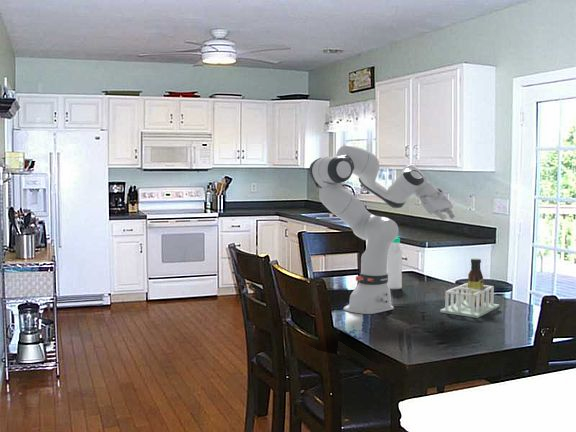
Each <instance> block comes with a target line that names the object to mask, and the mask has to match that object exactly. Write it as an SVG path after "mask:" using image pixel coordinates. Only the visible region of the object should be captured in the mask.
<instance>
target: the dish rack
mask: <svg viewBox="0 0 576 432" xmlns="http://www.w3.org/2000/svg"><path fill="white" fill-rule="evenodd" d="M494 289H495V286H494V285H487V284H483V290H480V289H472V288H468V282H465V283H463V284H461V285H458V286H455V287H452V288H449V289H448V290H445V294H444V295H445V297H444V299H445V300H444V308H441V309H440V310H439V313H444V314H448V315H449V314H450V315H457V316H463V317H468V318H476V319H479V318H480V317H482V316H484V315H486V314H488V313H491V312H492V311H494V310H496V309H498V308H500V304H497V303H494V300H495V299H494V297H495V294H494V293H495V292H494V291H495V290H494ZM468 290H469V293H468ZM472 291H477V292H476V293H474V294H472ZM480 294H481V306H479V305H480ZM475 296H476V306H475ZM449 297H450V300H449ZM449 302H450V305H449ZM454 302H455V303H454Z"/></svg>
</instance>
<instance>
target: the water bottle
mask: <svg viewBox="0 0 576 432" xmlns="http://www.w3.org/2000/svg"><path fill="white" fill-rule="evenodd" d="M400 243H401V238H400V237H398V236H397V237H396V239H395V240H394V241H393V242H392V244H391V246H390V249H389V253H388V259H387V274H388V283H387V285H388V287H389V288H390V290H400V289H402V287H403V286H402V285H403V284H402V283H403V281H402V279H403V274H402V271H403V256H402V255H403V250H402V248H401V246H400Z"/></svg>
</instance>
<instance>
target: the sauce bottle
mask: <svg viewBox="0 0 576 432" xmlns="http://www.w3.org/2000/svg"><path fill="white" fill-rule="evenodd" d="M470 263H471V264H470V265H471V266H470V267H471V268H470V271H469V273H468V274H467V275H468V276H467V279H468V280H467V283H468V288H472V289H480V290H483V289H484V287H483V285H484V275H483V273H482V270H481V263H482V260H481V258H470ZM476 292H477V291H472V294H474V293H476ZM468 293H469V290H468ZM475 306H476V296H475ZM479 306H481V294H480V305H479Z"/></svg>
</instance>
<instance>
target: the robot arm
mask: <svg viewBox="0 0 576 432" xmlns="http://www.w3.org/2000/svg"><path fill="white" fill-rule="evenodd" d="M308 170H309V172H308V173H309V175H310V178H311V179H312V180H313V182H314V184H315V186H316V188H319V189H320V190H319V193H318V200H319V201H320V202H321V203H322V205H323V206H324V207H325V208H326V209H327V210H328V211H329V212H331V213H332V214H334V216H336V217H337V218H339V220H341V221H343V222H344V223H345V224H346V225H347V226H348V227H349V228H350V229H351V230H352V232H353V234H354V235H355V236H356V237H358V238H359V239H361V240H363V241H367V243H366V244H367V245H366V248H365V250H364V252H363V253H361V257H360V273H359V276H358V275H355V281H358V284H357V285H356V286H355V288H354V289H353V290H352V292H351V294H350V295H349V300H348V301H349V304H347V305H345V306H344V307H343V310H344V311H346V312H351V313H354V314H355V313H356V314H361V315H362V314H363V315H374V314H377V313H378V314H379V313H383V312H386V311H391V310H394V309H395V307H394V306H393V305H392V299H391V297H392V296H391V289H390V288H389V287H388V285H387V283H388V253H389V249H390V246H391V244H392V242H393V241H394V240H395V239H396V237H398V236H399V226H398V224H397V223H396V221H395V220H393V219H390V218H389V217H386V216H379V215H375V214H372V213H371V212H369V210H367V208H366V206H365V204H364V202H363V201H362V200H360V199H359V198H357V197H356V196H355V195H353V194H352V193H351V192H350V191H348V190H347V189H346V188H345V187H344V186H343V183H344V182H347V181H349V179H350V178H351V176H352V175H353V174H354V175H355V176H357V177H358V181H359V183H360V185H361V186H362V187H364V188H365V189H366V190H367V191H369V192H370V193H372V194H373V195H375V196H376V197H378V198H379V199H380V200H382V201H384V202H385V204H387V205H388V206H389V207H391V208H392V209H400V208H403V207H404V205H405V204H406V202H407V201H408V200H409V198H411V197H412V195H415V197H416V198H417V199H418V200H419V201H420V203H421V205H422V206H423V208H424V210H425V211H426V212H427V213H428V214H429V215H435V216H436V217H439V218H440V219H441V221H445V220H446V219H447V217H446V215H445V214H443V213H446V214H447V215H448V217H449V218H450V219H453V220H454V219H455V217H456V215H455V214H454V213H453V210H452V209H453V207H454V206H453V204H452V202H451V201H450V200H449V199H448V197H447V196H446V195H445V194H444V191H443V190H442V189H440V188H438V187H436V186H435V185H434V184H433V183H432V182H431V181H429V180H428V179H427V177H426V176H425V174H424V173H423V172H422V171H421V170H420V169H419V168H418V167H416V166H415V165H413V164H409V165H406V166H404V167H403V168H402V169H401V170H400V172H399V176H398V177H397V178H396V179H395V180H394V181H393V182H392V184H390V186H388V187H384V186H383V185H381V184H380V183H379V182H377V181H376V180H377V177H378V173H379V171H380V162H379V159H378V157H377V156H376V154H374V153H372V152H371V151H368V150H366V149H364V148H361V147H358V146H355V145H351V144H343V145H341V146H340V147H339V148H338V150H337V152H336V155H334V156H325V157H319V158H317V159H315V160H314V161H312V162H311V164H310V165H309V168H308Z"/></svg>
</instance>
